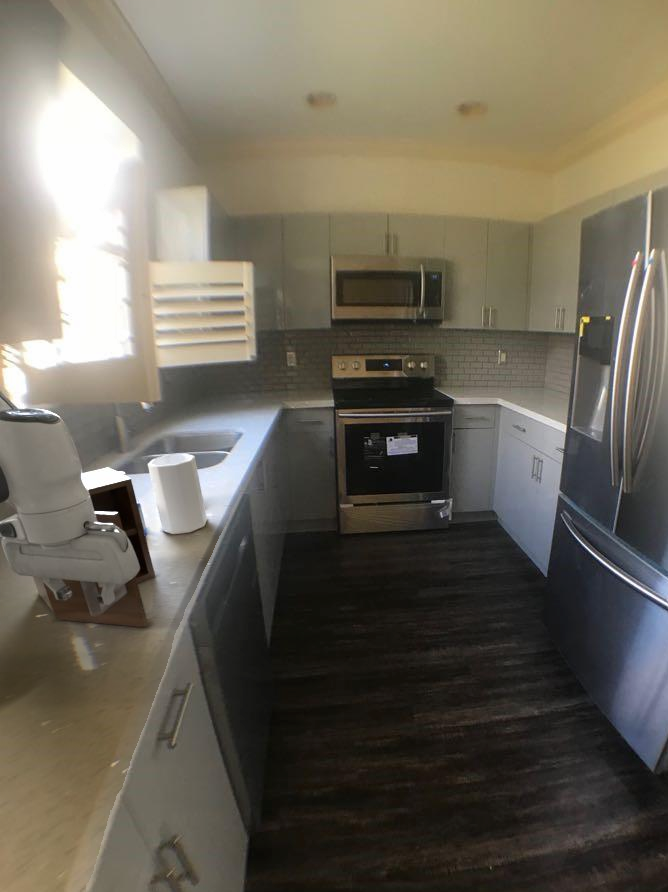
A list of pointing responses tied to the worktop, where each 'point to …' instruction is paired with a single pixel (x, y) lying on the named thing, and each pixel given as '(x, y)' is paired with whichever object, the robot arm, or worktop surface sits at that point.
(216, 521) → the worktop surface
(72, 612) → the cupboard door
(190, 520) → the cup
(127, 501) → the cupboard
